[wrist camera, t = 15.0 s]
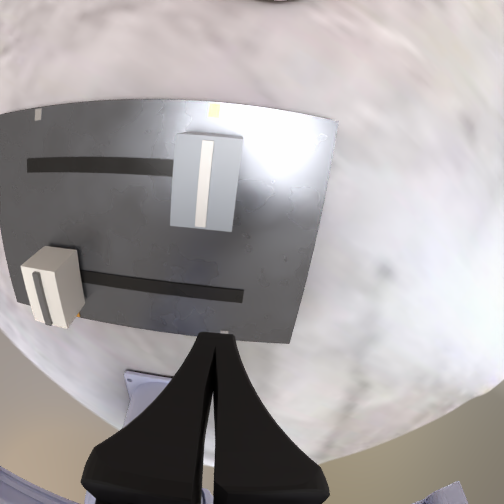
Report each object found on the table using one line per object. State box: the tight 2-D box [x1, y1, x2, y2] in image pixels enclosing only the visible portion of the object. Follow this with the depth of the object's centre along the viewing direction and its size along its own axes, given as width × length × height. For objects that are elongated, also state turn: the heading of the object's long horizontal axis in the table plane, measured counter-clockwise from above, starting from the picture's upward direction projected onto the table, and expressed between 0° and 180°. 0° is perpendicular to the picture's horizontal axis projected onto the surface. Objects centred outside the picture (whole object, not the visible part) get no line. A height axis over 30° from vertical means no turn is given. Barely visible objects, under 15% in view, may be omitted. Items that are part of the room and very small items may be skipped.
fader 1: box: [21, 246, 85, 329], centre depth 17 cm, size 4×3×4 cm
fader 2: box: [170, 132, 243, 232], centre depth 14 cm, size 4×3×4 cm
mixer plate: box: [0, 99, 339, 344], centre depth 18 cm, size 16×24×1 cm, turn 82°
